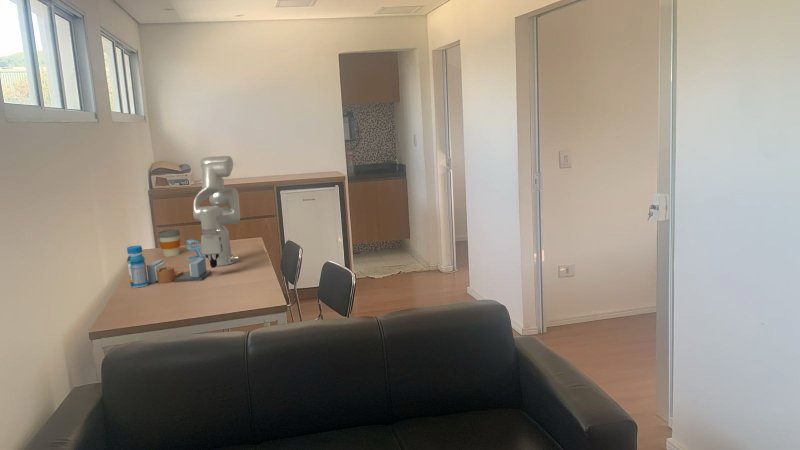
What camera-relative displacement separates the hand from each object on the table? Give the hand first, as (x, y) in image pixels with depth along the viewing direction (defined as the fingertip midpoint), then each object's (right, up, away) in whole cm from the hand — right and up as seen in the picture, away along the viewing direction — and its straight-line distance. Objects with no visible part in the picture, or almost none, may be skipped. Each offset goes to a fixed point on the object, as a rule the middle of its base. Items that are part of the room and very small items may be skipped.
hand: (213, 267), depth 319 cm
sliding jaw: (-8, -4, +1) cm, 9 cm away
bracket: (-22, -7, +1) cm, 23 cm away
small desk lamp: (-26, +1, +49) cm, 55 cm away
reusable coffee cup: (-46, +3, +66) cm, 80 cm away
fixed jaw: (-30, -7, +1) cm, 30 cm away
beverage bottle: (-34, -9, -9) cm, 37 cm away
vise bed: (-11, -5, +1) cm, 12 cm away
